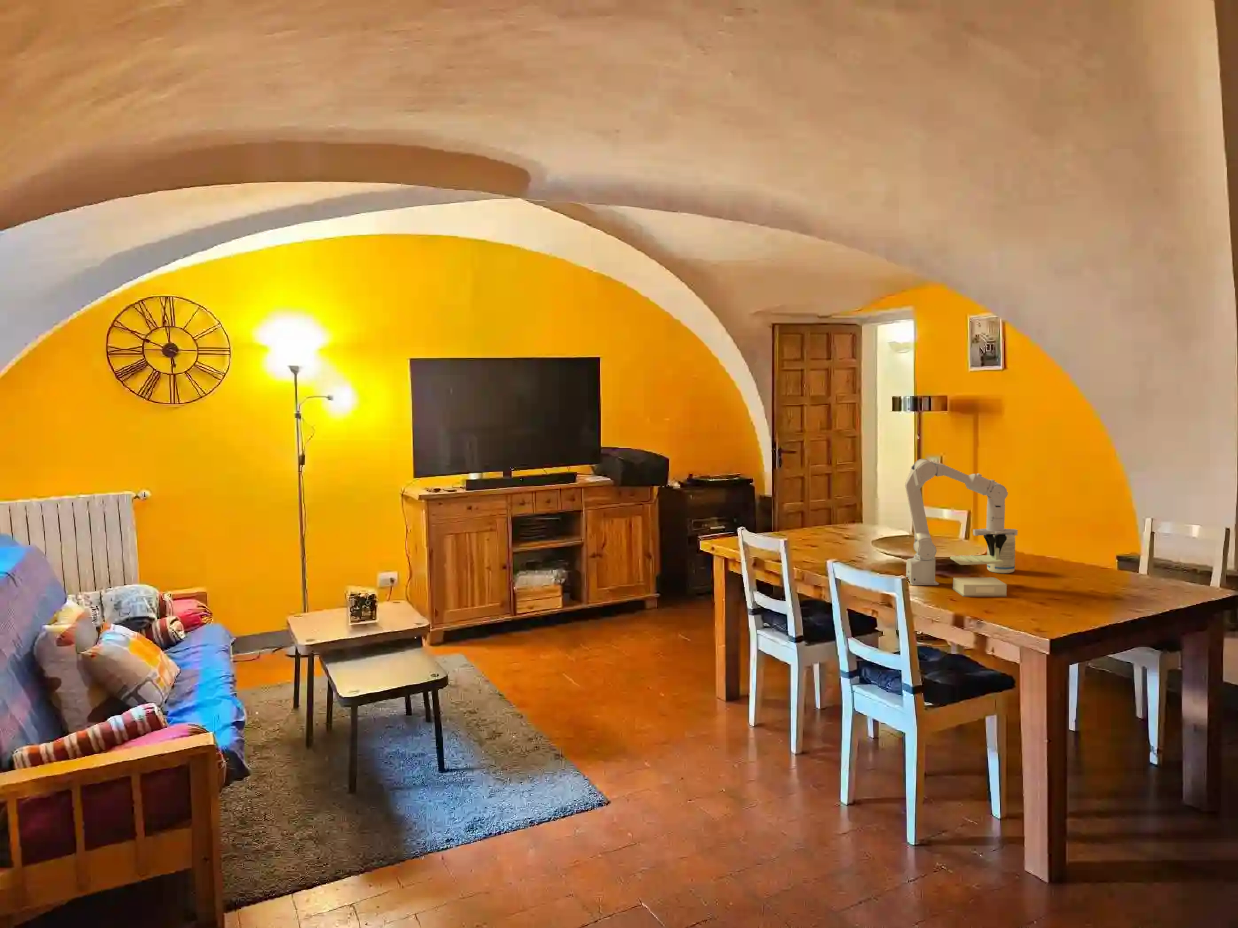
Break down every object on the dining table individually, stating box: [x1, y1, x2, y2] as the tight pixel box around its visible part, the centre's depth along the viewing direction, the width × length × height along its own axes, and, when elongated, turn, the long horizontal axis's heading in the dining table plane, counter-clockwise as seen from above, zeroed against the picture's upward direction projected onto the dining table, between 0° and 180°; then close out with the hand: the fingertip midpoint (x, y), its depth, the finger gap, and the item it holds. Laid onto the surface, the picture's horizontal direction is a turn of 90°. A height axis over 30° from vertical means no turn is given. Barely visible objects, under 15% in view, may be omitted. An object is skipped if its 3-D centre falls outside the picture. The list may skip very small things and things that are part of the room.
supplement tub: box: [986, 533, 1016, 574], centre depth 310 cm, size 10×10×15 cm
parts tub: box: [952, 576, 1008, 597], centre depth 280 cm, size 14×10×4 cm
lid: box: [949, 546, 1003, 566], centre depth 290 cm, size 14×10×5 cm
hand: (994, 555), depth 290 cm, fingers closed on lid
